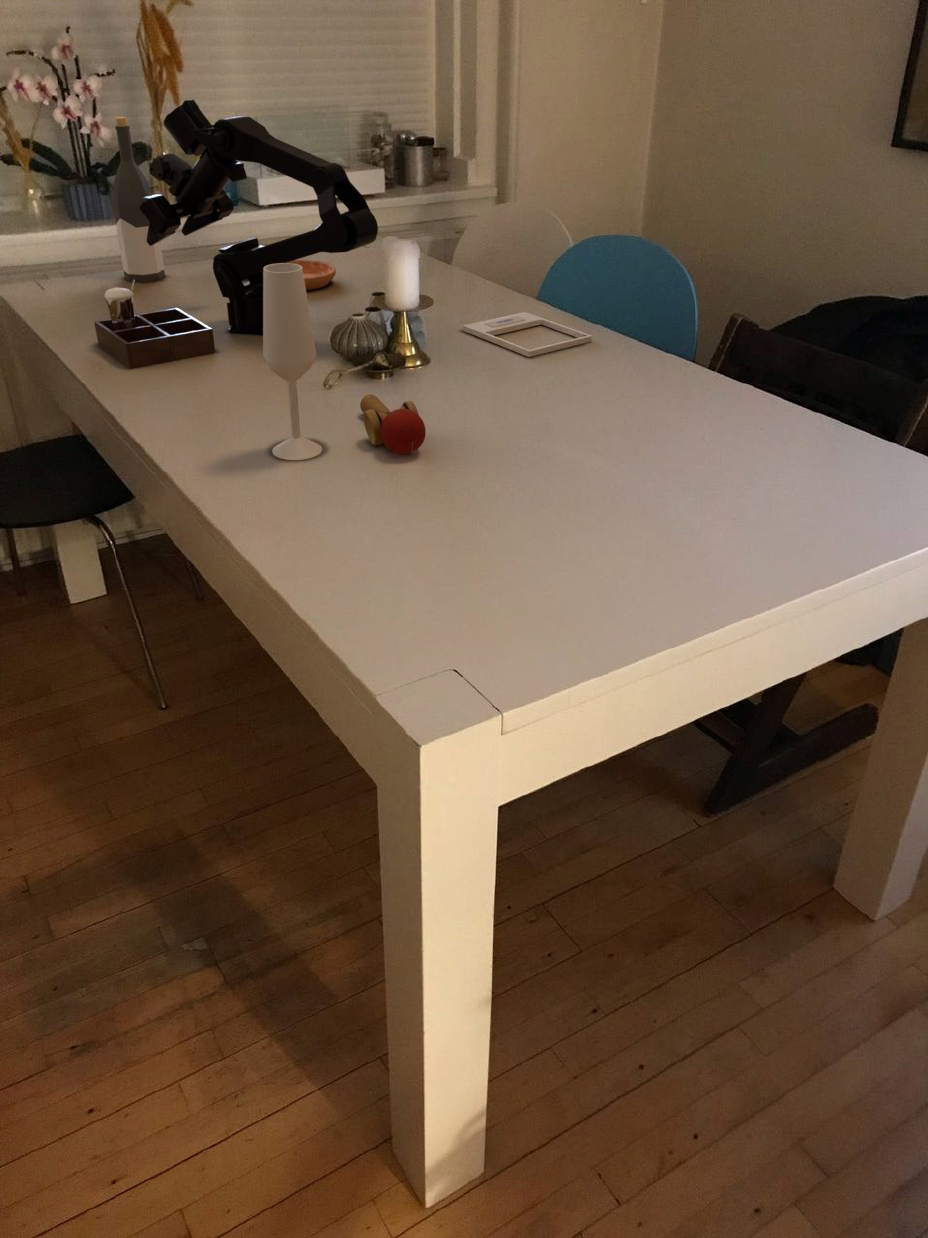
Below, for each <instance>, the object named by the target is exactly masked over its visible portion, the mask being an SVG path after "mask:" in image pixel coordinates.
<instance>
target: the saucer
mask: <svg viewBox="0 0 928 1238" xmlns="http://www.w3.org/2000/svg"><path fill="white" fill-rule="evenodd" d="M287 263H292V264H298V265H300V266H302V269H303V275H304V281H305V287H306V291H310V290H311V291H312V290H316V289H320V288H323V287H325V286H327V285H328V284H329V283H330V282H331V281H332V280H333V279H334V277H335V276H336V273H337V268H336V267H335V265H333V264H332V263H329V262H326V261H321V260H309V259H297V260H294V261H290V262H287Z"/></svg>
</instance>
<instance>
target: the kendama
mask: <svg viewBox="0 0 928 1238" xmlns="http://www.w3.org/2000/svg"><path fill="white" fill-rule="evenodd" d="M359 407H360V410H361V412H362V413H363V415H362V416H363V424H364V428H365V431H366V434H367V437H368V439H369V441H370V443H371V444H372V445H373V446H379V445H382V444H384V446H385V447H386V448H387V449H388V450H390V451H391V452H392V453H395V454H398V455H411V454H412V453H414V452H415V451H418V449H419V448H421V447H422V445H423V444H424V441H425V438H426V433H427V432H426V431H427V430H426V426H425V422H424V420H423V419H422V417H421V416H420V414H419V412H418V407H416V404H415V403H414V402H413V401H412V400H407V401H404V402H403V403H402V405H401V406H400V407H399V408H397V409H394V410H392V411H391V410H390V409H389V408H388V407H387V406H386V405H385V404H384V403H383V402H382V401H381V400H380V399H379V398H378V396H376V395H374V394H372V393H371V394H370V393H369V394H366V395H364V396H363V397H362V399H361V400H360V404H359Z"/></svg>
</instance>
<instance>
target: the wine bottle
mask: <svg viewBox="0 0 928 1238" xmlns="http://www.w3.org/2000/svg"><path fill="white" fill-rule="evenodd" d="M114 118H115V126H114V127H115V131H116V132H115V133H116V137H117V143H118V150H119V157H120V162H119V165H118V168H117V171H116V174H115V176H114V181H113V184H112V197H111V198H112V199H111V203H112V207H113V213H114V214H113V215H114V220H115V221H114V222H115V226H116V233H117V239H118V246H119V251H120V257H121V262H122V269H123V275H124V279H126V280H127V281H128V282H131V283H133V280H135V281H134V283H144V284H145V283H150V282H157V281H160V280H162V279H163V278H165V275H166V274H165V273H166V272H165V265H164V259H163V252H162V251H163V250H162V245H161V241H160V242H158V243H156V244H154V245H152V246H150V245H149V244H148V243H147V241H146V240H147V234H148V227H149V220H148V219H147V218H146V217H145V215H144V214H143V213H142V212H141V210H140V209H139V204H140V203H141V201H142V199H143V198H144V197H148V196H152V195H154V194H153V192H152V188H151V185H150V184H149V182H148V180H147V178H146V176H145V175H144V173H143V172H142V170H141V168H139V166H138V164H137V163H136V161H135V158H134V151H133V145H132V137H131V131H130V129H131V128H130V125H129V124H128V123H129V122H128V118H127V117H126V116H117V117H114Z"/></svg>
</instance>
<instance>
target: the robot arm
mask: <svg viewBox="0 0 928 1238" xmlns="http://www.w3.org/2000/svg"><path fill="white" fill-rule="evenodd" d="M163 126H164V128H165V129H166V131H167V132H168V133H169V134H170V135H171V137H172V139H173V140H174V141H175V142H176V144H177V145H178V146H179V148H180V149H181V150H182V152H183V153H184V154H185V155H187V156H193V155H194V156H195V157H199V158H198V159H197V160H196V161H195V164H194V165H193V166H192V165H191V164H189V163H188V162H187V161H185V160H184V159H183V158H182V157H181V158H180V156H178V155H177V154H174V153H165V154H160V155H156V157H154V158H152V161H151V162H149V164H148V167H149V168H148V172H149V174H150V176H152V177H153V178H155V179H156V180H157V181H159V182H163V183H164V184H166V185H167V186H169V188H168V192H169V193H170V194H171V196H172V197H175V202H176V203H172V204H171V203H170V202H169V200H168V199H167V198H166V196H165V195H164V194H158V193H157V194H153V195H152V196H148V197H144V198H143V199H142V201H141V203H140V204H139V209H140V210H141V212H142V213H143V214H144V215H145V217H146V218H147V219H148V220H149V227H148V234H147V240H146V241H147V243H148V244H149V245H150V246H152V245H154V244H156V243H158V242H160V243H161V242H162V241H164V240H165V239H167V238H169V237H171V236H172V235H174V234H176V233H177V230H178V229H179V228H180V226H181V225H182V220H181V219H184V218H186V220H185V222H184V224H183V226H182V228H181V233H182V234H183V236H184V237H186V236H188V235H191V234H193V233H195V232H197V231H199V230H201V229H203V228H206V227H208V226H210V225H212V224H214V223H217V222H220V221H222V220H223V219H224V218H227V217H230V215H231V214H232V213H233V211H234V209H235V208H234V201H232V199H231V197H230V196H229V195H228V194H227V193H226V191H225V189H224V188H225V187H226V185H227V184H228V183H229V181H231V183H236V182H240V181H246V180H247V178H248V175H247V171H246V170H245V163H244V162H246V163H255V164H260V165H261V166H264V167H266V168H268V169H271V170H273V171H275V172H277V173H279V174H282V175H284V176H286V177H289V178H291V179H292V180H295V181H297V182H299V183H302V184H304V185H306V186H309V187H311V188H312V189H313V191H314V193H315V196H316V198H317V207H318V216H319V218H320V220H321V223H320V224H318V226H317V227H315V228H314V229H313V230H309V231H307V232H304V233H300V234H297V235H294V236H290V237H288V238H285V239H283V240H278V241H276V242H273V243H269V244H266V245H260V243H259V239H258V237H254V238H250V239H246V240H244V241H240V242H237V243H234V244H231V245H228V246H224V247H221V248H218V252H219V253H217V254H216V255H214V257H213V262H212V270H213V274H214V278H215V280H216V282H217V286H218V288H219V291H220V293H221V296H222V298H225V299H228V301H227V302H226V309H227V310H226V311H227V318H228V325H229V326H230V327H229V328H228V332H230V333H241V334H242V333H243V334H244V333H245V334H259V335H263V268H264V267H265V266H267V265H271V264H277V263H287V262H290V261H294V260H301V259H304V258H306V257H310V256H313V255H316V254H319V253H326V254H327V253H328V254H339V253H348V252H351V251H354V250H356V249H359V248H362V247H365V246H367V245H370V244H372V243H375V241H376V240H377V236H378V233H379V226H378V221H377V219H376V217H375V215H374V214H373V212H372V211H371V209H370V207H369V205H368V202H367V200H366V198H365V197H364V196H363V194H361V192H360V191H359V190H358V189H357V188H356V187H355V185H354V184H353V183H352V182H351V181H350V178H349V177H348V175H347V172H346V170H345V168H344V167H343V166H341V164H338V163H337V162H331V161H328V160H325V159H323V158H321V157H319V156H316V155H314V154H312V153H310V152H308V151H306V150H303V149H301V148H299V147H296V146H294V145H291V144H289V143H287V142H285V141H283V140H281V139H278V138H276V137H274V136H273V135H272V134H270V132H269V131H268V130H267V128H266V127H265V126H264V125H262V124H261V123H260V122H258V121H257V120H255V119H253V118H252V117H250V116H249V115H240V116H239V115H238V116H231V117H226V118H220V119H217V120H216V121H215V122H214V123H213V124H212V123H211V122H210V120H208V118H207V117H206V115H205V114H204V113H203V111H202V110H201V109H200V107H199V104H198V103H197V102H196V101H195V99H194V98H193V99H192V98H191V99H185V100H184V101H183V102H182V104H180V105H179V106H177V107H175V108H174V109H173V110H172V111H171V112H170V113H167V114H166V115H165V118H164V120H163ZM337 198H338V200H339V201H340V202H341V203H342V204H343V205H344V206H345V207H346V208H347V211H344V212H340V210H339V208H338V203H337ZM247 282H249V283H247ZM244 283H247V284H244Z"/></svg>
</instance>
